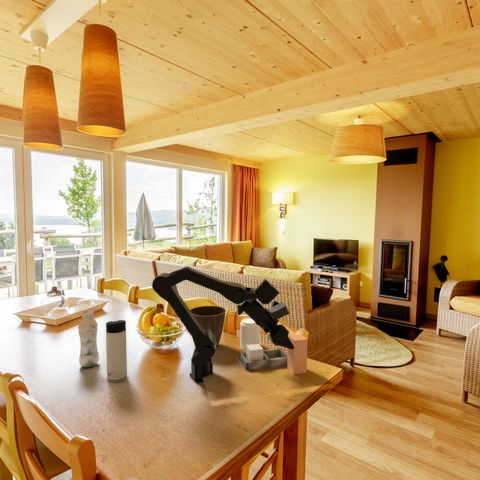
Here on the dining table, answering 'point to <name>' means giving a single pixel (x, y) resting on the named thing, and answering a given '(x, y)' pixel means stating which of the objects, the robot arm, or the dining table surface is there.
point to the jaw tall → (297, 354)
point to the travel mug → (116, 351)
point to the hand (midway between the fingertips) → (289, 343)
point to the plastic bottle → (88, 340)
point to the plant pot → (211, 319)
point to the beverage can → (249, 333)
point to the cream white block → (254, 352)
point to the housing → (264, 360)
